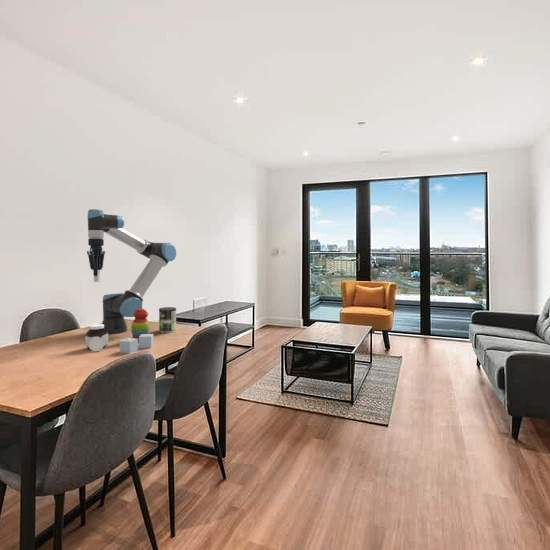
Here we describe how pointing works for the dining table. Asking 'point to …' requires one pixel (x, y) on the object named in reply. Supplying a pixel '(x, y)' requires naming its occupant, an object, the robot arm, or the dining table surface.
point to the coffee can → (167, 319)
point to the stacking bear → (140, 323)
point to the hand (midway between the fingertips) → (96, 281)
